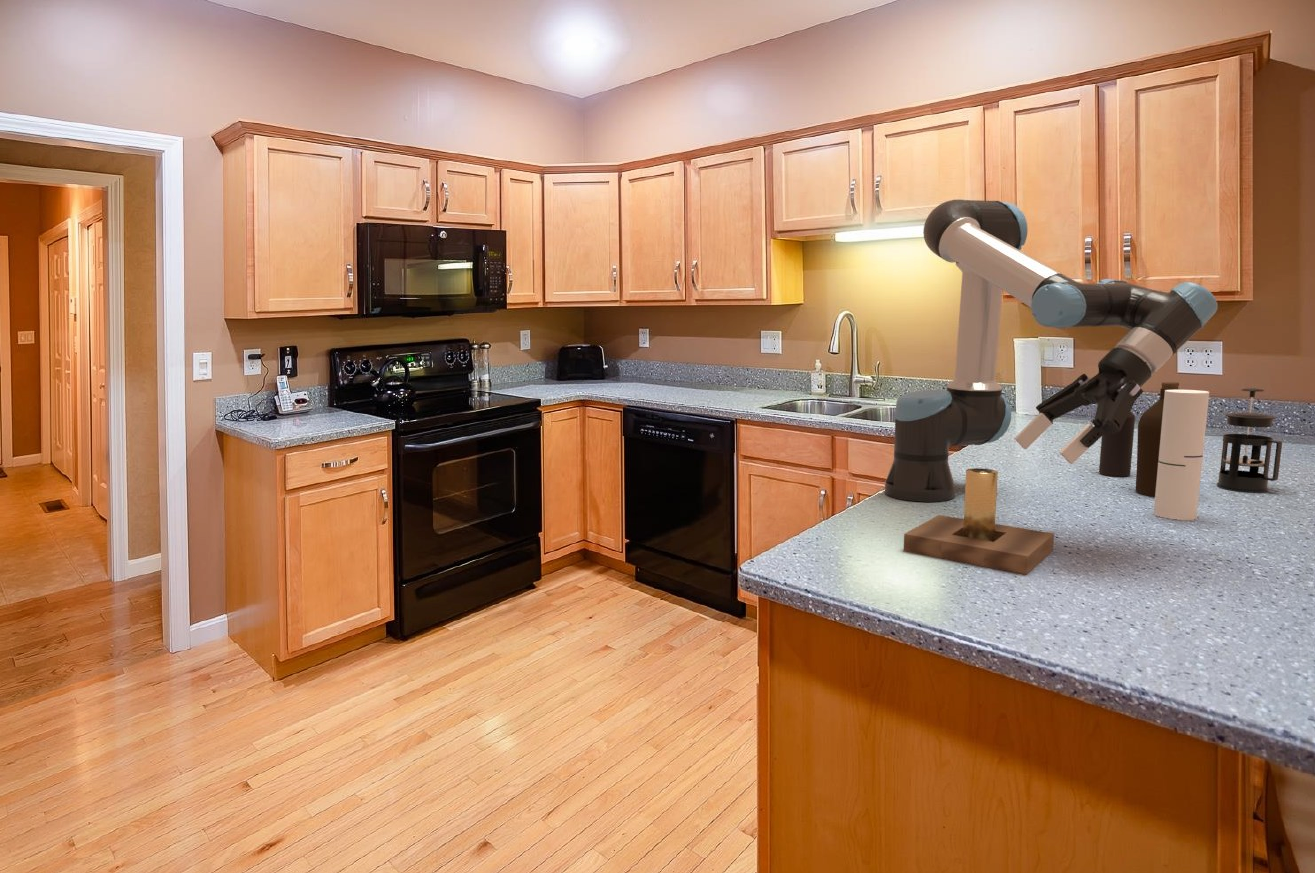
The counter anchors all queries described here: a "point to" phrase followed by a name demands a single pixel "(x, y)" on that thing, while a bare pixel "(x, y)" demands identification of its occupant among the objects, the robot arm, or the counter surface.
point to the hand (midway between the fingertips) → (1041, 450)
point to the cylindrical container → (1181, 454)
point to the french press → (1246, 479)
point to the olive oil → (1150, 444)
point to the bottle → (1118, 450)
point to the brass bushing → (980, 504)
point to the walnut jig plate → (980, 545)
